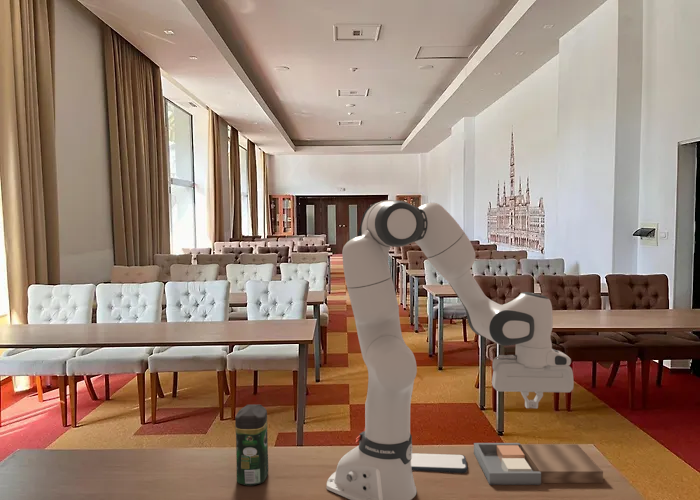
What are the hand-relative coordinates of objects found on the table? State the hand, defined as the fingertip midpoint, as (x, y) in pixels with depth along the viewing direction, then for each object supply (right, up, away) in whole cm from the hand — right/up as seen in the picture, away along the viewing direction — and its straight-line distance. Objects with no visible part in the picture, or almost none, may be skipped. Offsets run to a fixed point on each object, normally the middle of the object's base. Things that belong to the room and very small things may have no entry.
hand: (531, 407), depth 141 cm
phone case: (-23, -18, +8) cm, 31 cm away
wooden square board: (+9, -18, +5) cm, 21 cm away
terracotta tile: (-3, -17, +10) cm, 20 cm away
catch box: (-5, -18, +5) cm, 19 cm away
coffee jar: (-72, -19, +1) cm, 75 cm away
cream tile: (-3, -18, +2) cm, 18 cm away
